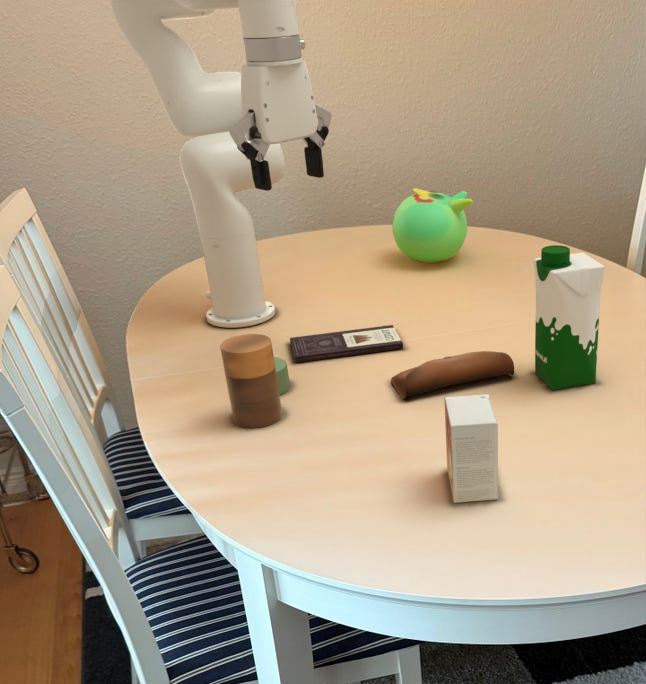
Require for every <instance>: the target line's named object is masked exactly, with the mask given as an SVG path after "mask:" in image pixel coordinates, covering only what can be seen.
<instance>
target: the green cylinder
mask: <svg viewBox="0 0 646 684" xmlns="http://www.w3.org/2000/svg"><path fill="white" fill-rule="evenodd" d="M274 362H275V369H276V375H277V382H278V388H279V395H280V396H281V395H283V394H285V393H286V392H288V391H289V390H290V387H291V383H290V375H289V370H288V369H289V368H288V364H287V361H286V360H285V359H283V358H280V357H276V356H274Z"/></svg>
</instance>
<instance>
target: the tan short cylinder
mask: <svg viewBox="0 0 646 684" xmlns="http://www.w3.org/2000/svg"><path fill="white" fill-rule="evenodd" d="M219 350H220V354H221V355H220V356H221V359H222V365H223V369H224V375H225V374H226V375H227V376H229V377H232V378H237V379H249V378H256V377H260V376H263V375H266V374H268V373H270V372H271V371H272V370H273V369H274V368H275V362H274V357H275V356H274V348H273V344H272V339H271V338H270V337H269V336H267V335H265V334H262V333H261V334H260V333H245V334H238V335H234V336H232V337H229V338H226V339H224V340H223V341H221V343H220V345H219Z"/></svg>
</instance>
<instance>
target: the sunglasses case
mask: <svg viewBox="0 0 646 684" xmlns="http://www.w3.org/2000/svg"><path fill="white" fill-rule="evenodd" d="M504 375H510V376H512V377H514V375H515V363H514V361H513V358H512V357H511V356H510V355H509V354H508V353H507V352H502V351H491V350H490V351H489V350H482V351H472V352H471V351H470V352H466V353H461V354H457V355H451V356H444V357H443V358H437V359H435V358H434V359H431V360H427V361H425V362H423V363H422V364H420V365H418V366H415V367H412V368H409V369H406V370H403V371H400V372H399V373H397V374H396V375H393V376H392V377H391V378H390V382H391V385H392V386H393V387H394V389H395V391H396V392H397V393H398V395H399V396H400V397H401V399H402V400H404V399H406V398H407V397H413V396H417V395H421V394H424V393H428V392H432V391H433V390H439V389H442V388H445V387H447V386H454V385H459V384H460V385H461V384H465V383H470V382H473V381H479V380H480V381H481V380H485V379H490V378H494V377H501V376H504Z"/></svg>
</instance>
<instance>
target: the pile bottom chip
mask: <svg viewBox="0 0 646 684" xmlns="http://www.w3.org/2000/svg"><path fill="white" fill-rule="evenodd" d="M228 397H229V396H228ZM229 401H230V408H231V414H232V419H233V423H234V424H235V425H237V426H239V427H242V428H247V429H257V428H264V427H268V426H271V425H273V424H276V423H277V422H279V421H280V420H281V419H282V418H283V408H282V402H281V395H279V392H278V394H277V395H276V396H275V397H273V398H271V399H269V400H266V401H263V402H259V403H251V404H244V403H237V402H234V401H232V400H231V399H230V397H229Z"/></svg>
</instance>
